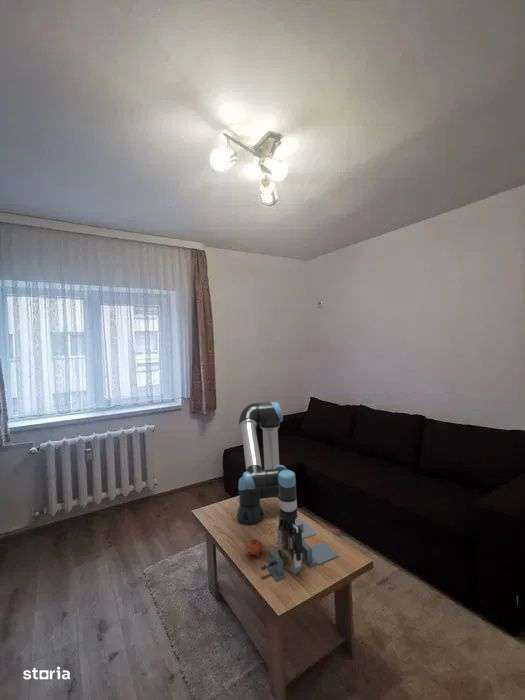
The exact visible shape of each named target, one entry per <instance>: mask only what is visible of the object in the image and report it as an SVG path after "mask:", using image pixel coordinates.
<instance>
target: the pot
mask: <svg viewBox="0 0 525 700" xmlns="http://www.w3.org/2000/svg"><path fill="white" fill-rule="evenodd" d="M263 548H264V546H263V542H261V540H259V539H257V538H252V539H251V540H250V541H249V542H247V544H246V545H245V550H246V552H247V555H248V556H250V555H251V556H253V555H254V556H255V555H256V556H257V558H259V557H260V553H261V552H262V550H263Z"/></svg>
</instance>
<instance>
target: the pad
mask: <svg viewBox="0 0 525 700" xmlns="http://www.w3.org/2000/svg"><path fill="white" fill-rule="evenodd" d="M310 547H311V548H312V557H313V558H314V559H315V560H316V561H317V566H321V565H323V564H325V563H327V562H330V561H333V560H335V559H337V558H339V557H340V556H339V554H338V553H337V552H336V551H334V549H332V548H331V547H330V546H329V545H328V544H327V543H326V542H325V541H323V542H320V543H317V544H315V545H313V546H310Z"/></svg>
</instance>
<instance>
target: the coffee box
mask: <svg viewBox="0 0 525 700" xmlns="http://www.w3.org/2000/svg"><path fill="white" fill-rule="evenodd" d="M276 530H277V531H276V532H277V534H276V535H277V545H278V546H277V548H278V549H277V550H278V554H279V556H280V557H281V558H282V560H283V569H285V570H287V571H289V572H291V573H292V574H294V575H297V573H299V572H300V571H301V570H302V569H303V568H304V562H303V553H301V554H300V555H301V566H300V567H298V568H295V567H294V553H293V552H294V551H295V550H294V547H293V541H294V540H295V539H294V534H292V535H290V534H289V532H288V530H287V529H286V527H284V528H283V526H281V527H280V528H278V529H276ZM291 532H293V531H291ZM300 536H301V541H302V529H300Z"/></svg>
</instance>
